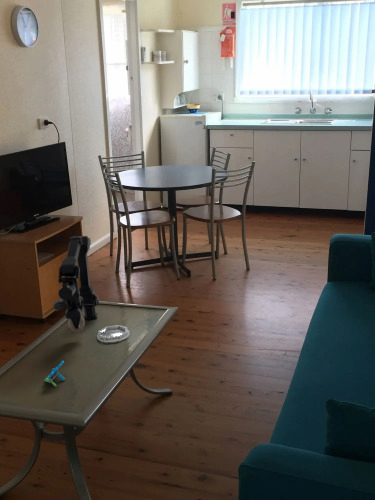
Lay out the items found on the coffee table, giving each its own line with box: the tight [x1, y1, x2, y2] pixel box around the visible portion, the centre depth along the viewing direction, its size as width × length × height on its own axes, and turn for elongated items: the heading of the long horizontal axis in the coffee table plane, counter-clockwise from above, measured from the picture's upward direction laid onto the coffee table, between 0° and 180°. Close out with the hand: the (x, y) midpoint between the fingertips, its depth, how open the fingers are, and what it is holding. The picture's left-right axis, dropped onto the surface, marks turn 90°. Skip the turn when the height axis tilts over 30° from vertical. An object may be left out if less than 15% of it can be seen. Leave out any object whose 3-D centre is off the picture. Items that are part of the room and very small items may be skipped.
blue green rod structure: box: [43, 360, 66, 387], centre depth 214 cm, size 11×6×10 cm
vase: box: [67, 314, 86, 333], centre depth 247 cm, size 7×7×9 cm
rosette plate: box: [96, 324, 131, 344], centre depth 250 cm, size 14×14×2 cm
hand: (77, 325), depth 248 cm, fingers closed on vase, 7 cm apart
